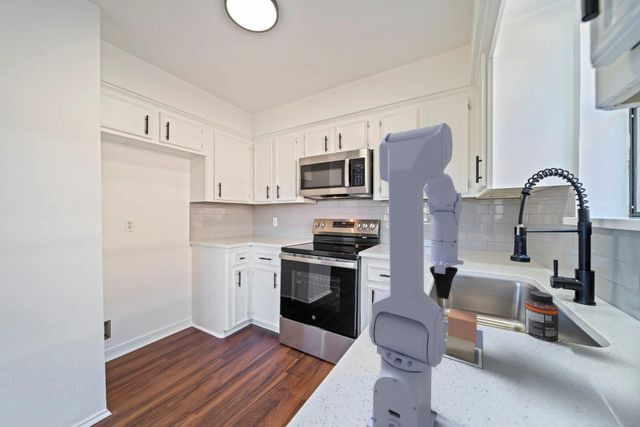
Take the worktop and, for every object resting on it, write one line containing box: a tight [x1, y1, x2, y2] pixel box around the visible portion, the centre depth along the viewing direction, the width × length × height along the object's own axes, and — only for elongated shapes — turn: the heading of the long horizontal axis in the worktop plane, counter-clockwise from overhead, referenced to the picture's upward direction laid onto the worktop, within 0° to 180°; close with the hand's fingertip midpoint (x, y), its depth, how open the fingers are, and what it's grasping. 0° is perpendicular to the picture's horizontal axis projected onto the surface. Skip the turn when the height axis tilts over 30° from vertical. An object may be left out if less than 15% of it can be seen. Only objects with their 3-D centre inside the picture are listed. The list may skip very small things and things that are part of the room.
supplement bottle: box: [524, 290, 559, 343], centre depth 59 cm, size 6×6×11 cm
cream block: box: [446, 330, 475, 362], centre depth 51 cm, size 5×5×4 cm
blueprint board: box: [442, 321, 484, 370], centre depth 57 cm, size 18×14×1 cm
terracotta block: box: [447, 308, 478, 343], centre depth 51 cm, size 5×5×4 cm
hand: (443, 297), depth 58 cm, fingers closed
